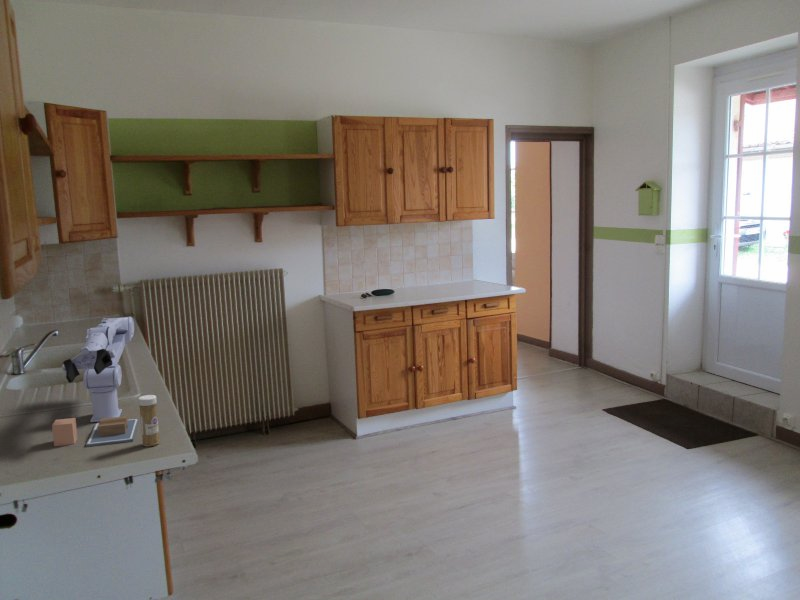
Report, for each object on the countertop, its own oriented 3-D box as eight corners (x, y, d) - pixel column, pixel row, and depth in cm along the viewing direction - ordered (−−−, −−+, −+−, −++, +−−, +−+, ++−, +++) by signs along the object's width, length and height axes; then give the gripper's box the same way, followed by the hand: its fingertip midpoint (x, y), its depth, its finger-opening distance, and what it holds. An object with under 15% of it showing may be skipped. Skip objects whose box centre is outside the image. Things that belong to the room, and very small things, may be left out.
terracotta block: (58, 440, 185) (55, 419, 184) (77, 438, 186) (75, 417, 185) (54, 446, 180) (51, 425, 179) (74, 444, 181) (72, 423, 181)
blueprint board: (95, 425, 196) (95, 423, 196) (138, 420, 200) (138, 418, 199) (85, 446, 179) (85, 444, 179) (133, 441, 182) (132, 438, 182)
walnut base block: (102, 428, 192) (101, 418, 191) (128, 425, 194) (127, 415, 193) (98, 436, 185) (97, 426, 184) (125, 433, 187) (124, 423, 186)
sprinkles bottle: (154, 447, 178) (150, 399, 175) (139, 446, 178) (134, 399, 176) (163, 441, 182) (159, 394, 180) (147, 440, 183) (143, 394, 181)
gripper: (62, 347, 190) (49, 371, 178) (111, 332, 191) (102, 355, 179) (73, 367, 193) (61, 392, 181) (122, 352, 194) (113, 376, 182)
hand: (82, 375), depth 180 cm, fingers open, 7 cm apart
